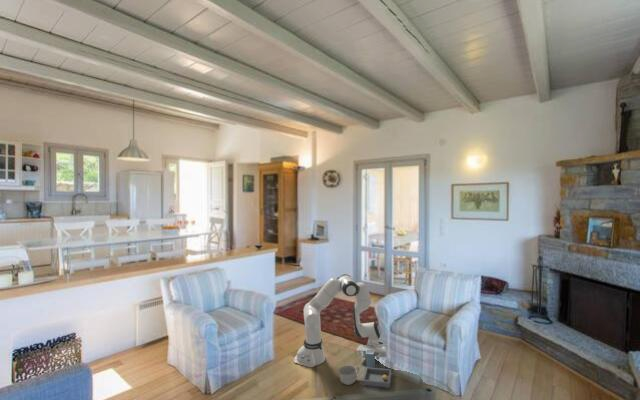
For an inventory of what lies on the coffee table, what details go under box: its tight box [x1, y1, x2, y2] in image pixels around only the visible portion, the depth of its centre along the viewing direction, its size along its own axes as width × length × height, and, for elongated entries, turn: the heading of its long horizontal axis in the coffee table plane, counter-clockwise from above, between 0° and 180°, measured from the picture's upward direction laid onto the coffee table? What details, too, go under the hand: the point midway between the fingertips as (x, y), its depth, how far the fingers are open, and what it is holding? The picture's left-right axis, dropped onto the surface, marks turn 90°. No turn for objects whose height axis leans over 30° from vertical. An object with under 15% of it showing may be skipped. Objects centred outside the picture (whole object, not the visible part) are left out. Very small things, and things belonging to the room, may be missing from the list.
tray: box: [362, 366, 393, 390], centre depth 198 cm, size 16×14×4 cm
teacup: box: [338, 364, 360, 386], centre depth 199 cm, size 14×11×8 cm
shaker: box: [365, 349, 376, 368], centre depth 213 cm, size 5×5×10 cm
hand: (370, 357), depth 212 cm, fingers open, 8 cm apart
